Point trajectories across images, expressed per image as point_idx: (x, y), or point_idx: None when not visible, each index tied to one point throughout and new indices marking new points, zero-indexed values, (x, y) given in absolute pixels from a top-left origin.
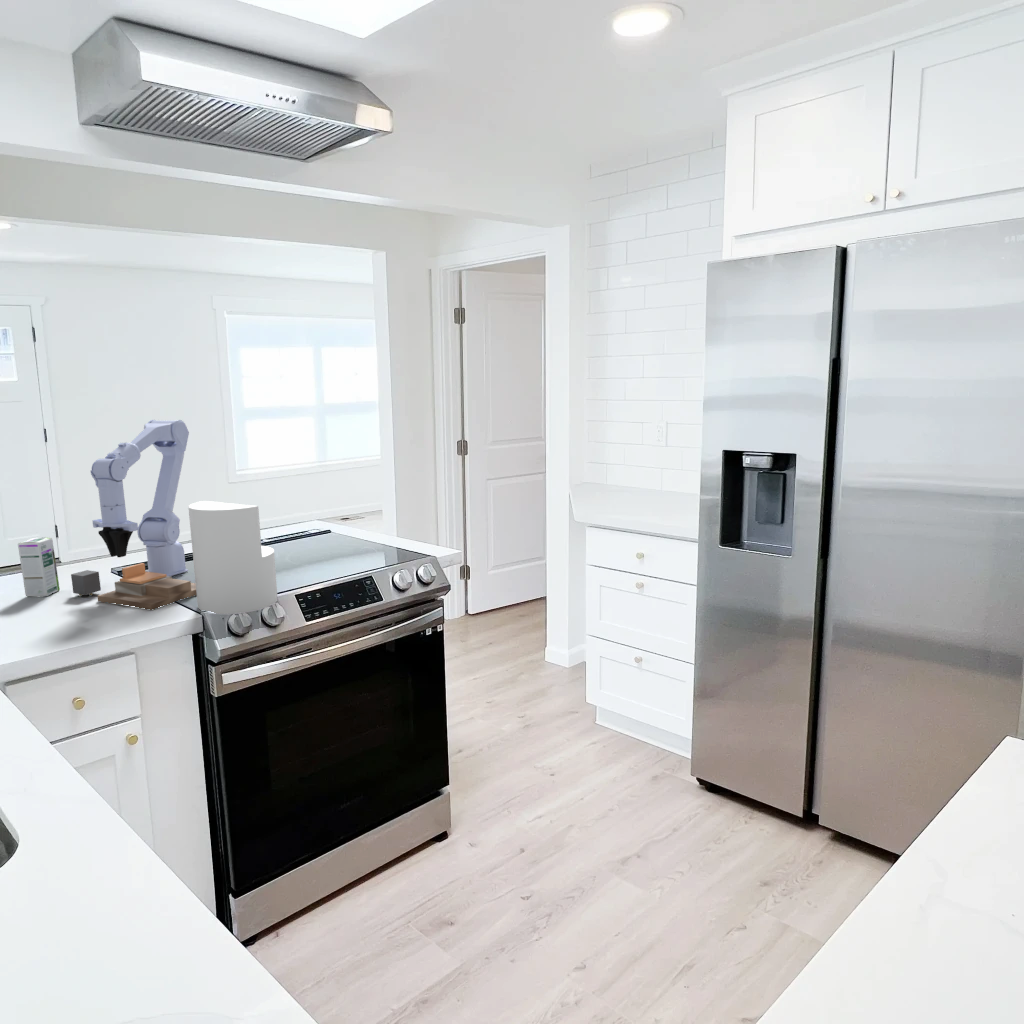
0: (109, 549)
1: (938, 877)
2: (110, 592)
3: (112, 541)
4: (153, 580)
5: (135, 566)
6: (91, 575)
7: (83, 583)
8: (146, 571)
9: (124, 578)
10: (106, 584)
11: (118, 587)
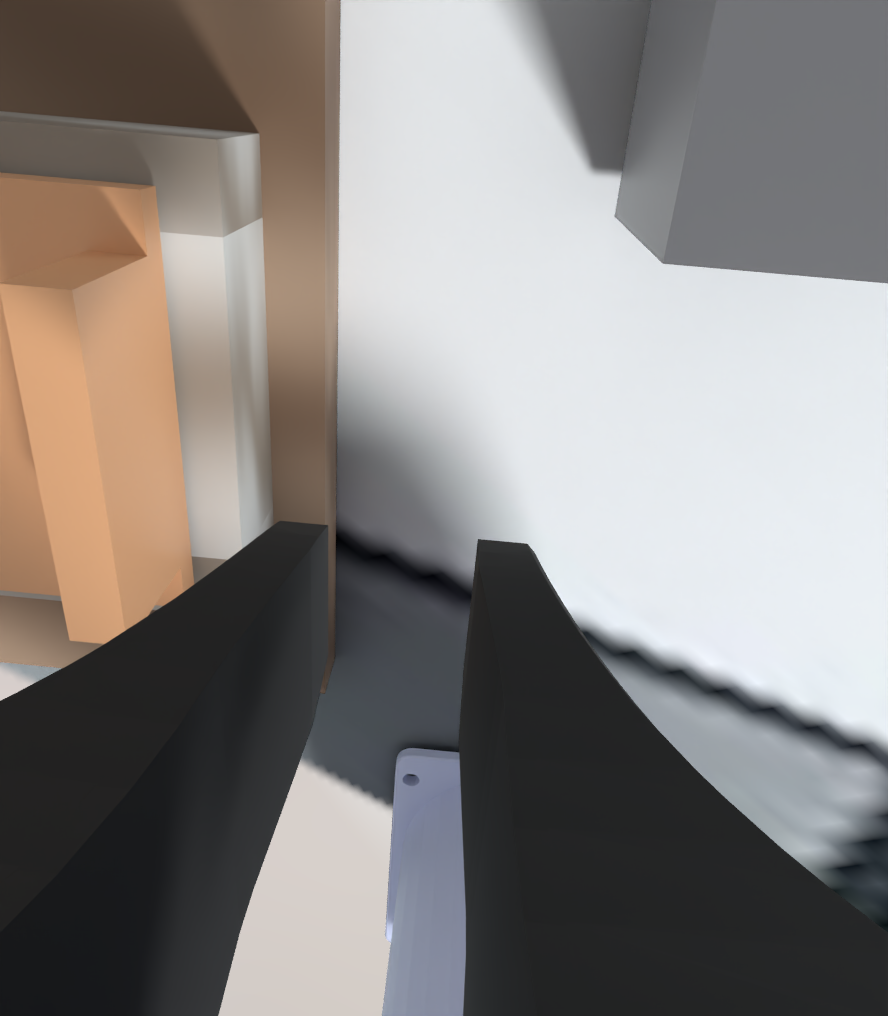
0: (513, 608)
1: None
2: (294, 77)
3: (487, 856)
4: None
5: (47, 491)
6: (686, 95)
7: None
8: None
9: (92, 235)
10: (824, 513)
11: (169, 129)
